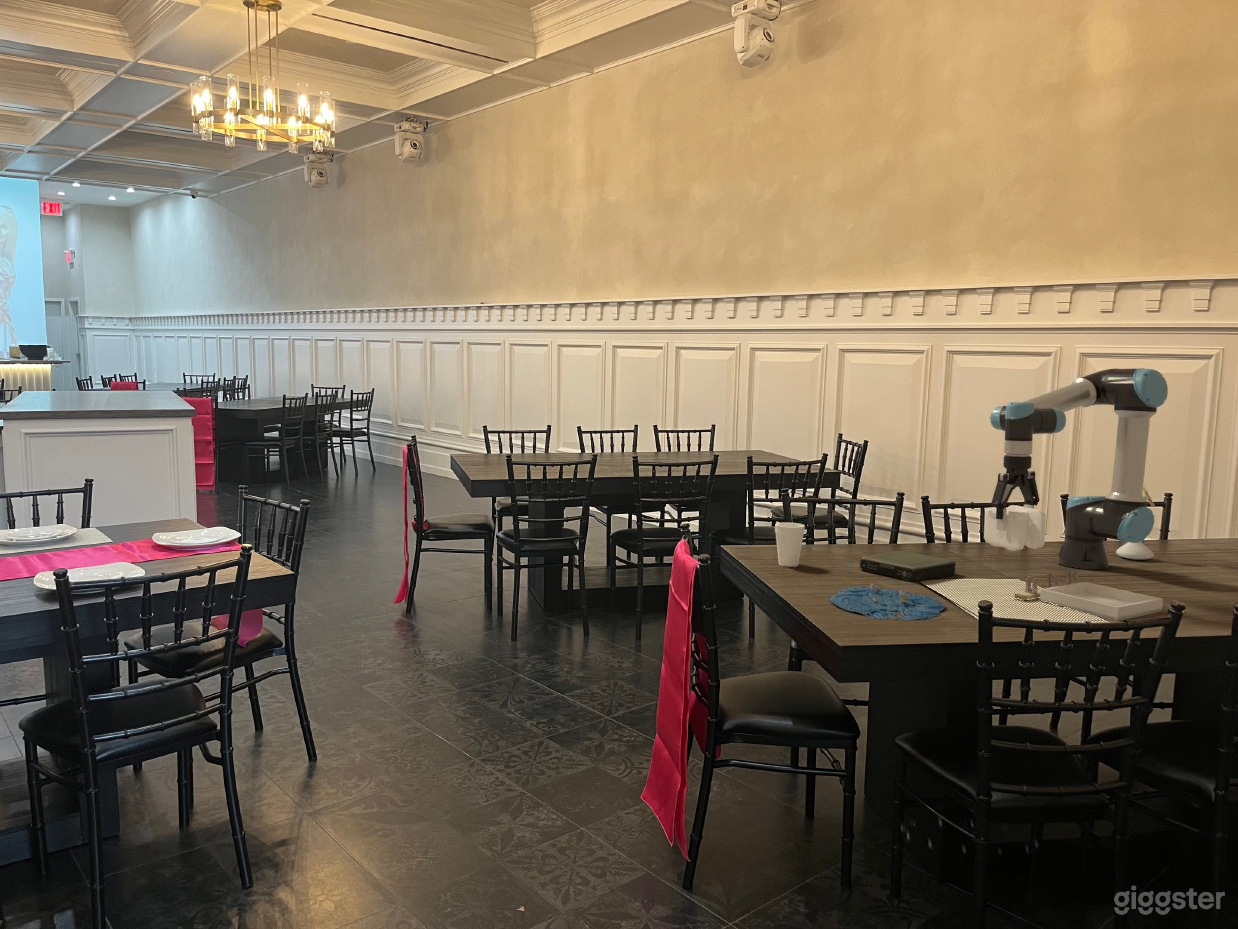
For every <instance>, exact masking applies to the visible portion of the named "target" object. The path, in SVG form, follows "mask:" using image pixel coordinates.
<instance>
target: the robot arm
mask: <svg viewBox="0 0 1238 929" xmlns="http://www.w3.org/2000/svg"><path fill="white" fill-rule="evenodd" d="M1168 388H1169V387H1168V383H1167V380H1166V379H1165V377H1164V375H1163V374H1162V373H1161V372H1160V371H1158V370H1156V369H1153V368H1144V367H1142V368H1108V369H1103V370H1099V371H1097V372H1096V371H1095V372H1093V373H1090V374H1088V375H1085V376H1082V377H1079V378H1077V379H1075V380H1073V382H1072V383H1071V384H1069V385H1066V386H1063V387H1060V388H1058V389H1055V390H1052V391H1050V392H1047V393H1044V394H1041V395H1038V396H1035V397H1034V398H1033V397H1032V398H1030V399H1027V400H1024V401H1013V402H1012V401H1011V402H1008V403H1007V404H1006V405H1001V406H1000V405H999V406H996V407H994V408H993V409H992V410H991V413H990V416H989V419H990V424H991V426H992V427H993V428H994V429H995V430H998V431H1003V432H1004V450H1003V452H1004V456H1003V464H1002V467H1003V468H1005V470H1006V471H1005V473H1002V472H999V473H997V483H996V486H995V489H994V492H993V496H992V499H991V503H990V505H991V506H992V507H995V508H996V519H997V522H996V530H1001V531H1006V514H1007V508H1006V505H1007V503H1008V502H1009V499H1010V497H1011V495H1012V493H1013V491H1014V490H1015V489H1016V488H1019V490H1020V492H1021V495H1022V497H1023V499H1024V501H1025V502H1024V503H1026V504H1023V507H1027V508H1032V509H1035V506H1038V505H1039V503H1040V496H1039V491H1038V486H1037V481H1036V471H1035V470H1034V471H1033V470H1030V469H1031V468H1032V459H1033V458H1032V456H1031V455H1032V454H1033V438H1034V435H1036V434H1037V435H1041V434H1042V435H1044V434H1050V435H1053V434H1057V433H1060V432H1062V431H1063V430H1064V429H1065V427H1066V423H1067V417H1066V414H1065V413H1066V412H1069V411H1072V410H1075V409H1076V408H1079V407H1082V408H1089V407H1091V406H1098V405H1099V406H1101V405H1105V406H1106V405H1108V406H1113V412H1114V413H1115V414H1116V415H1117V416H1118V420H1117V429H1116V439H1115V440H1116V441H1115V449H1114V450H1115V451H1114V459H1113V460H1114V461H1113V469H1112V472H1113V473H1112V481H1111V489H1110V490H1111V491H1110V493H1108V494H1107V495H1105V496H1104V495H1086V496H1085V495H1082V496H1080V495H1079V496H1071V497H1069V498H1068V500H1067V503H1066V509H1065V524H1064V525H1065V526H1064V527H1065V529H1064V541H1063V543H1062V546H1061V548H1060V550H1059V553H1058V555H1057V560H1056V562H1057V564H1058V565H1060V564H1061V566H1063V567H1067V568H1072V567H1074V569H1079V568H1080V570H1093V571H1094V570H1095V571H1096V570H1107V569H1109V566H1110V564H1109V563H1110V560H1109V557H1108V553H1107V550H1106V545H1105V539H1109V540H1114V541H1120V542H1122V543H1128V542H1130V543H1137V542H1143V541H1144V540H1145V539H1146V538H1147V537H1148V536H1150V534H1151V532H1152V531H1153V529H1154V525H1155V515H1154V512H1153V510H1152V509H1150V508H1149V507H1147V506H1148V500H1147V499H1145V498H1144V495H1143V493H1144V492H1143V487H1144V481H1145V470H1146V464H1147V463H1146V461H1147V452H1148V443H1149V442H1148V441H1149V433H1150V421H1151V418H1152V417H1153V416H1155V415H1156V414H1157V410H1158V409H1157V408H1159V407H1162V405H1164V403H1165V401H1167V398H1168V395H1169V394H1168V393H1169V389H1168Z"/></svg>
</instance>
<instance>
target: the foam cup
mask: <svg viewBox="0 0 1238 929" xmlns="http://www.w3.org/2000/svg"><path fill="white" fill-rule="evenodd" d="M805 528H806V527H805V524H804V523H803V524H802V523H797V522H778V523H775V525H774V533H775V541H776V548H777V549H776V551H777V560H778V565H779V566H783V567H788V568H789V567H793V568H794V567H798V566H799V564H800V557H801V553H802V552H801V550H802V544H803V540H804V534H805Z"/></svg>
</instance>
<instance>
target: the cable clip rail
mask: <svg viewBox="0 0 1238 929" xmlns="http://www.w3.org/2000/svg"><path fill="white" fill-rule="evenodd" d="M1052 573H1053V572H1052ZM1052 573H1051V572H1048V573H1046V579H1045V580H1046V584H1045V587H1044V588H1050V587H1056V586H1059V584H1058V583H1059V574H1057V573H1056V574H1053V575H1052ZM1078 576H1079V571H1072V570H1071V569H1067V570H1066V576H1065V584H1064V585H1068V584H1075V583H1078V578H1079V577H1078ZM1025 580H1026V582H1025V590H1024V592H1018V593H1014V599H1015V598H1019V599H1022V600H1027V599H1031V598H1037V597H1040V589H1038V580H1039V578H1038V577H1032V576H1031V575H1027V576H1026V579H1025Z"/></svg>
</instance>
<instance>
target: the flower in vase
mask: <svg viewBox="0 0 1238 929" xmlns="http://www.w3.org/2000/svg"><path fill="white" fill-rule="evenodd" d="M1142 493H1144V495H1143V497H1144V498H1145V499H1146V500H1147V502H1148V503H1149V504H1150V506H1151V507H1152V508H1155V507H1156V505H1155V503H1154V502H1153V499H1152V497H1151V496H1150V494H1149V492H1148V490H1147V489H1146V487H1145V486H1143V492H1142ZM1115 553H1116V555H1118V556H1120V557H1121V558H1126V559H1130V560H1143V561H1144V560H1150V559H1153V558H1154V557H1155V555H1154V552H1153V551H1152V550H1151V549H1150V548H1149V547H1148V546H1146V544H1144V543H1143V541H1141V542H1137V543H1130V542H1125V543H1124V544H1123V545H1121V546H1120V547H1119V548H1117V550H1116V551H1115Z"/></svg>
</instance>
